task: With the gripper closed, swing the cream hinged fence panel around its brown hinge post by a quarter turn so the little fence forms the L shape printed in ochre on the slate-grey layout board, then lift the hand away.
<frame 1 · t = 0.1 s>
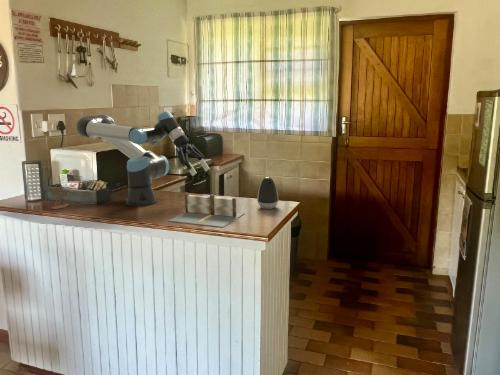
hand: (201, 172, 221), 15 cm above the counter, tool tilted 35°, fingers open, 13 cm apart
egg-shaped speaker: (268, 208, 208), on the counter
folding fence panel: (225, 206, 193), point 5 cm above the counter, hinge at 0.0°
fixed fence section: (212, 215, 197), resting on layout board
gingerbread man figurine: (61, 207, 217), on the counter
layout board: (207, 217, 193), on the counter
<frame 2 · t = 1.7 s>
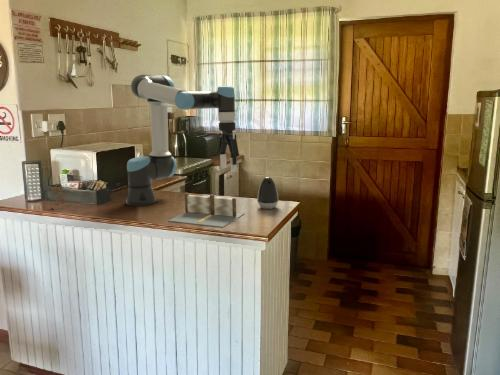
hand: (228, 170, 196), 20 cm above the counter, tool pointing down, fingers open, 11 cm apart
nothing on the counter moved.
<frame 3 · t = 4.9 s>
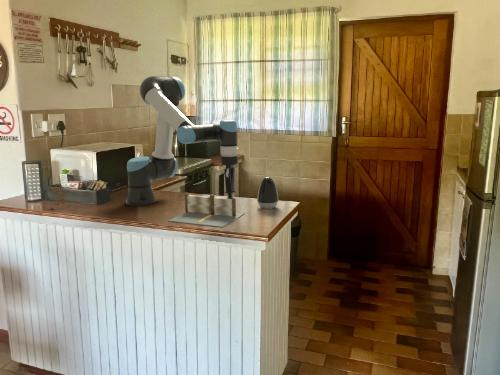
hand: (230, 206, 195), 4 cm above the counter, tool pointing down, fingers closed
folding fence panel: (225, 206, 193), point 5 cm above the counter, hinge at -2.0°, touching gripper
everything else where it was.
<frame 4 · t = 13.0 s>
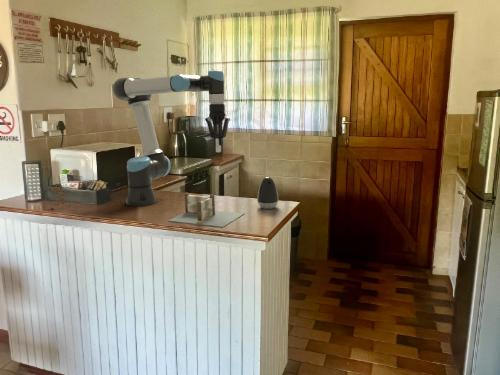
hand: (218, 151, 213), 26 cm above the counter, tool pointing down, fingers closed
folding fence panel: (204, 208, 190), point 5 cm above the counter, hinge at -92.8°
everything else where it was.
at the end: folding fence panel at -93° (first picture: +0°); egg-shaped speaker moved 0.2 cm from its start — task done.
